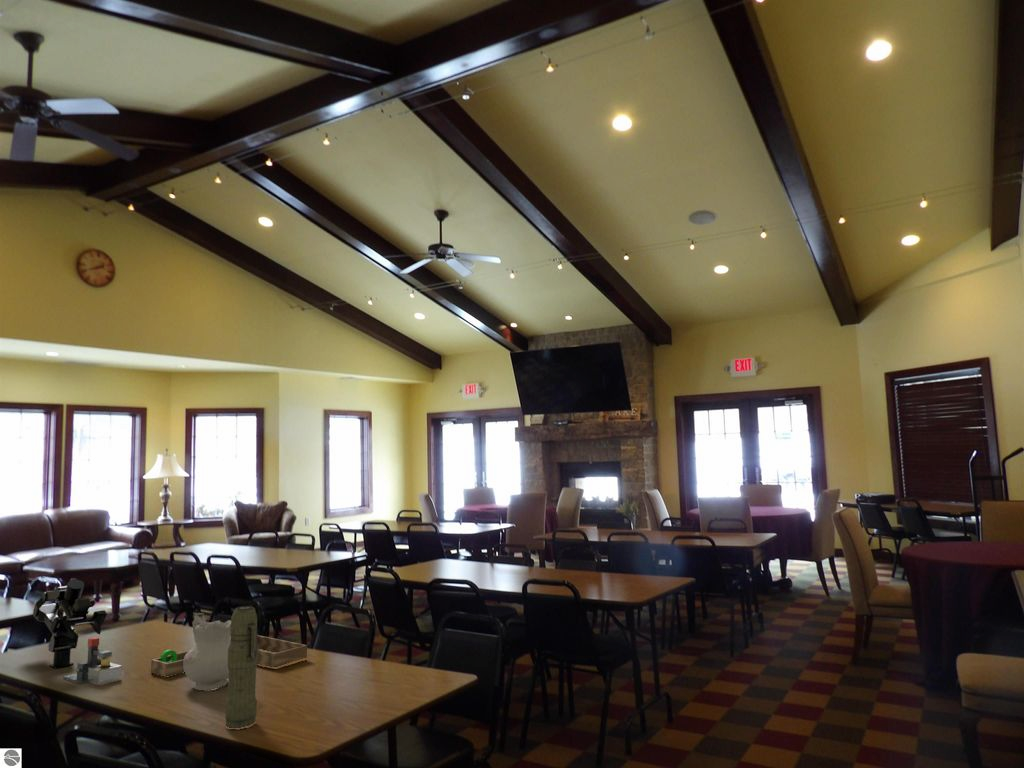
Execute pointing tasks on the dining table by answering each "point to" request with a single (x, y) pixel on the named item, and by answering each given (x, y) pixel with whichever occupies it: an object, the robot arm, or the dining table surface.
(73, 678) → the press frame
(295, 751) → the dining table surface
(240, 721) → the thermos
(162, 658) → the mechanical part
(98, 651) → the lever
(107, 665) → the pin
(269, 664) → the brown open crate
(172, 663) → the part crate
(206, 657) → the ceramic pitcher
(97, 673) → the housing
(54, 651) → the robot arm
